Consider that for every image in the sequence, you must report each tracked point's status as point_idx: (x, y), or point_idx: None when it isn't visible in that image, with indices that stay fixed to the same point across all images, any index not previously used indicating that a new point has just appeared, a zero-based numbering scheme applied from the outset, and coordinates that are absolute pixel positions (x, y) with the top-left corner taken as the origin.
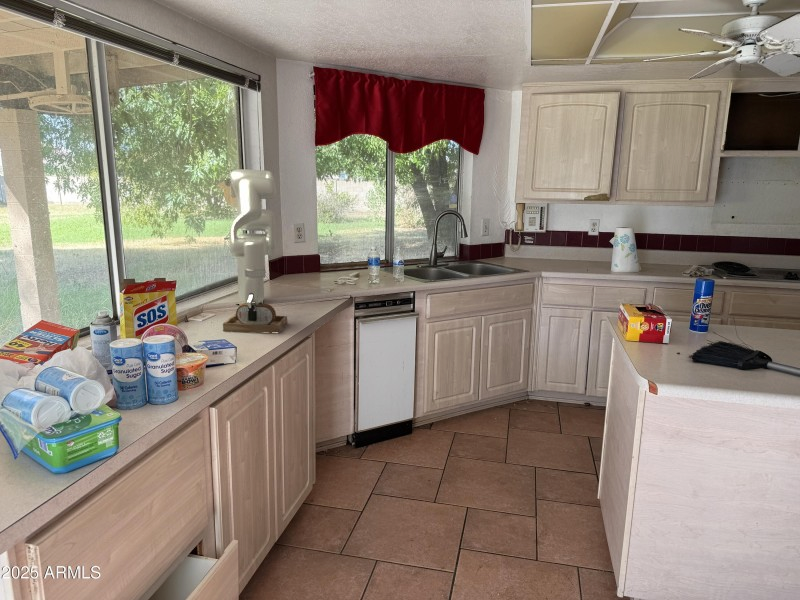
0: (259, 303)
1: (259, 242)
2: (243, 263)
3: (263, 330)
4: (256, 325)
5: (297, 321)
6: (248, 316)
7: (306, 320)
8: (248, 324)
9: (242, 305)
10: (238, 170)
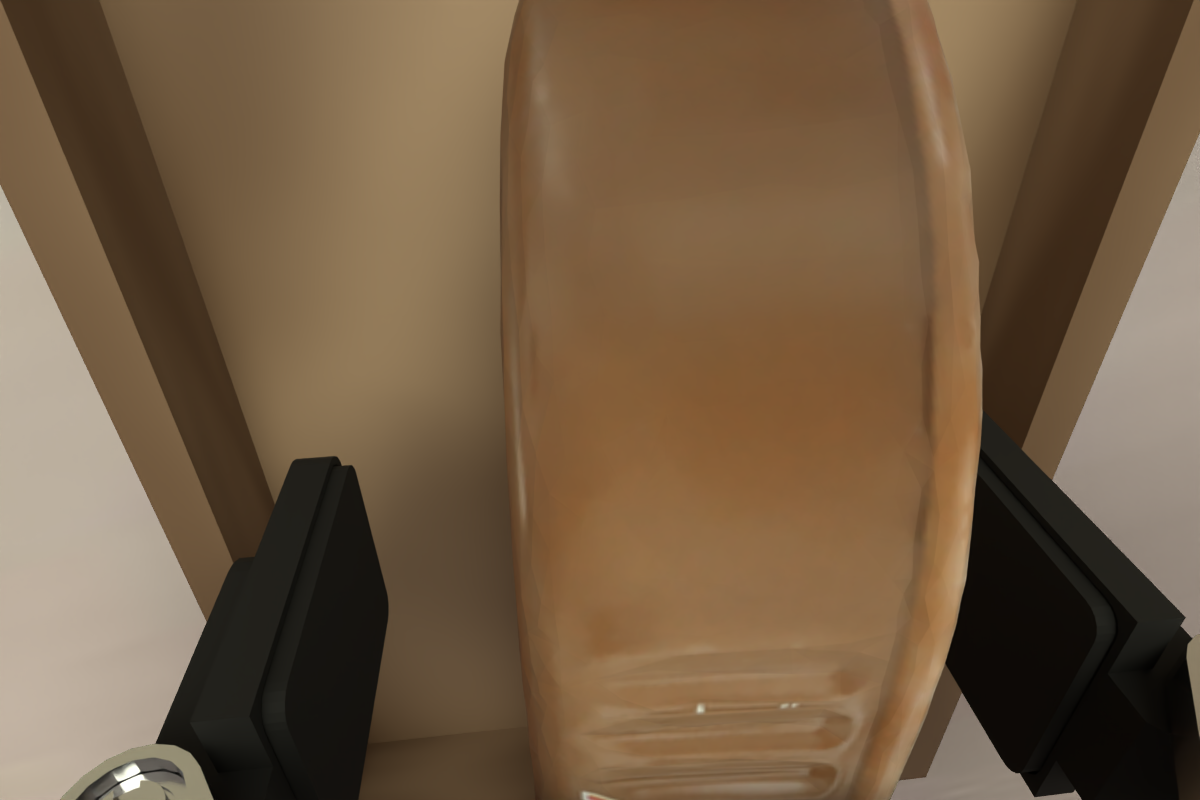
0: (1133, 787)
1: None
2: None
3: None
4: (210, 611)
5: (967, 726)
6: (265, 549)
7: (1002, 776)
8: (166, 471)
9: (519, 523)
10: None
